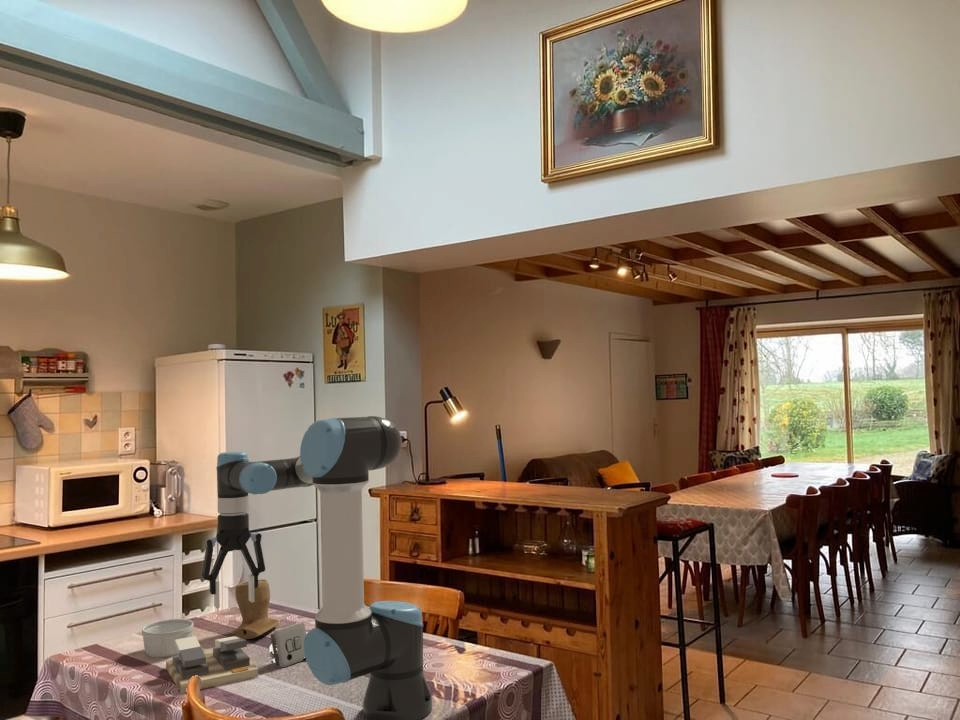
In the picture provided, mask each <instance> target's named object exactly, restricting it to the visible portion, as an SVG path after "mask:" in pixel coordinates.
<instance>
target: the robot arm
mask: <svg viewBox="0 0 960 720" xmlns="http://www.w3.org/2000/svg"><path fill="white" fill-rule="evenodd" d="M402 447H403V439H402V434H401V432H400V430H399V429H398V426H396V425H395V423H393V422H392V421H391V420H389V419H387V418H385V417H382V416H376V415H375V416H374V415H373V416H372V415H370V416H355V417H354V416H353V417H331V418H326V419H325V418H324V419H319V420H316V421H315V422H313V423H312V424H311V425H309V426H308V428H307V430H306V431H305V432H304V434H303V437H302V440H301V443H300V450H299V456H295V457H292V458H284V459H272V460H260V461H249V457H248V454H247V452H246V451H227V452H226V451H225V452H220V453H219V454H218V455H217V458H216V459H217V461H216V462H217V463H216V468H215V469H216V482H217V483H216V484H217V485H216V486H217V487H216V488H217V490H216V491H217V493H216V495H217V513H218V516H217V533H216V536H214V537H211V538H207V537H206V538H205V539H204V544H205V550H204V551H205V553H204V559H203V565H202V571H201V579H203V580H204V581H208V582H209V593H210V595H212V596H213V607H215V608H216V609H220V606H221V604H220V601H221V600H220V599H221V598H220V581H219V579H218V576H219V574H220V572H221V569H222V566H223V564H224V561H225V558H226V556H227V555H228V552H233V551H240V552H241V554H242V556H243V558H244V560H245V562H246V564H247V566H248V569H249V570H250V573H249V574H248V575H247V577H248V581H247V582H248V588H249V601H250V602H255V600H254V588H257V587H258V580H259V575H260V573H264V572H266V565H265V560H264V555H263V548H262V544H261V543H262V533H260V532H251V531H250V522H249V520H250V519H249V518H250V517H249V513H248V511H249V494H252V495H264V494H268V493H270V492H272V491H280V490H286V489H295V488H306V487H307V488H308V487H312V486H314V487H315V488H316V489H317V490H318V491H319V500H320V502H319V503H320V505H319V507H320V547H321V550H320V552H321V553H320V554H321V599H322V600H321V602H322V603H321V604H322V606H321V608H320V609H319V610H318V612H316V614H315V616H314V619H315V620H314V621H315V624H314V625H315V626H314V627H313V628H311V629H310V630H309V631H308V632H306V637H305V639H304V653H305V658H306V659H305V661H306V663H307V666H308V668H309V670H310V671H311V673H312V675H313V676H314V678H316V680H317V681H318V682H320V683H322V685H323V684H324V685H326V686H334V685H338V684H344V683H345V684H346V683H348V682H349V681H351V680H354V679H357V678H361V677H363V676H365V675H368V674H369V675H370V676H369V680H368V684H367V686H366V690H365V693H364V697H363V701H362V714H363V716H364V718H366V719H368V720H422V719H423V718H425V717H426V716H428V715H429V714H431V712H432V710H433V698H432V694H431V691H430V686H429V685H428V681H427V680H426V679H427V678H426V676H425V674H424V638H423V637H424V633H423V632H424V631H423V630H424V624H423V613H422V610H421V607H419V606H418V605H416V604H414V603H411V602H406V601H396V600H381V601H374V602H371V604H370V605H369V606H367V605H366V604H365V594H364V593H365V589H364V588H365V586H364V585H365V584H364V580H365V579H364V543H363V542H364V541H363V540H364V539H363V538H364V537H363V500H362V499H363V496H362V495H363V493H362V491H363V488H365V486H367V484H368V483H369V479H370V478H369V477H370V475H369V471H374V470H379V469H383V468H386V467H389V466H390V465H392V464H393V463H394V462H395V461H396V460H397V459H398V458H399V456H400V454H401V452H402ZM250 539H251V542H253V548H254V553H255V560H256V564H257V566H256V564H255V562H254V560H253V558H252V556H251V553H250V552H249V549H248V546H247V545H246V544H247V543H248V541H249V540H250ZM216 543H218V544H219V546H220V547H219V551H218V554H217V557H216V559H215V562H214V565H213V566H211V565H212V558H213V553H214V547H215V546H216ZM211 567H212V569H211Z"/></svg>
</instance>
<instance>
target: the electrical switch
mask: <svg viewBox="0 0 960 720" xmlns="http://www.w3.org/2000/svg"><path fill="white" fill-rule="evenodd" d="M306 634H307V631H306V625H305V623H304V622H299V623H295V624H292V625H289V626H285V627H282V628H278V629H276V630H275V631H274V632H273V633H271V634H270V641H271V647H272V652H273V657H274V662H275V663H274V664H275V665H279V667H280V668H282V667H283V668H286V667H289V666H291V665H295V664H297V663H299V662H303V661H304V660H303V658H304V657H305V653H304V639H305V637H306Z"/></svg>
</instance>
